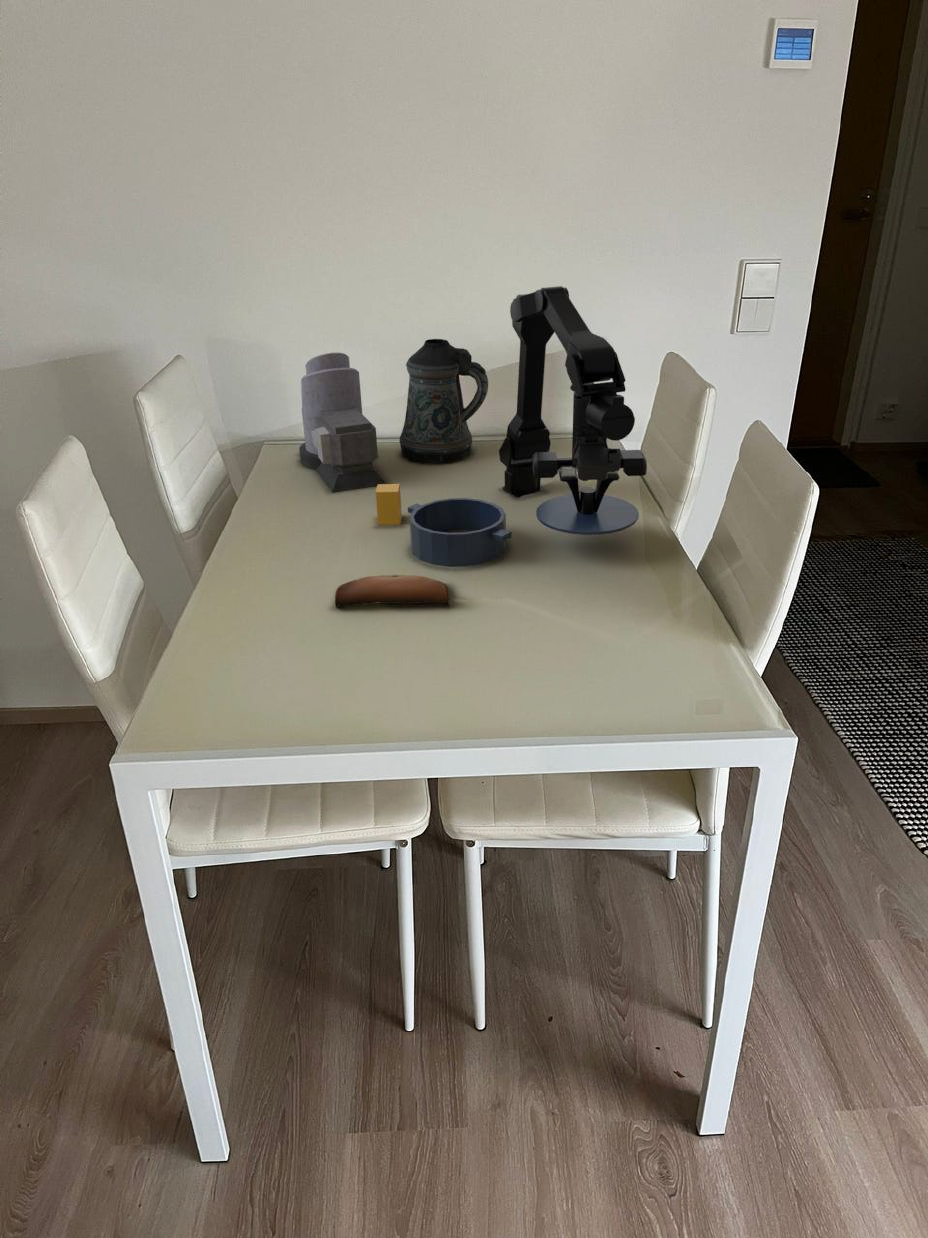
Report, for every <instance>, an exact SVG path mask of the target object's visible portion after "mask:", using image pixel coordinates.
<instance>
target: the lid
mask: <svg viewBox="0 0 928 1238" xmlns="http://www.w3.org/2000/svg"><path fill="white" fill-rule="evenodd" d="M595 494H596V488H593V487H581V488H580V489H579V496H580V512H578V511H577V508H576V504H575V501H574V498H573V494H572V493H571V494H567V495H566V494H565V495H560V496H556V497H553V498H550V499H547V500H546V501H544V502H542V503H541V504H539V505H538V506H537V507H536V510H535V515H536V519H537V521H538V522H539V523H540V524H542V525H543V526H545V527H547V528H549V529H551V530H554V531H556V532H561V533H565V534H570V535H581V536H596V535H607V534H608V535H609V534H614V533H618V532H622V531H625V530H627V529H629V528H631V527H632V526H634V525H635V524H636V523H637V522H638V520H639V517H640V512H639V509H638V508H637V507H636V506H635V505H634V504H633V503H631V502H630V501H627V500H625V499H622V498H619V497H615V496H611V495H605V494H604V496H603V499H602V501H601V504H600V506H599V509H598V511H597V512H595Z"/></svg>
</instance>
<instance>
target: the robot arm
mask: <svg viewBox="0 0 928 1238" xmlns="http://www.w3.org/2000/svg"><path fill="white" fill-rule="evenodd" d="M509 313H510V318H511V325H512V326H511V327H512V328H513V330H514V332H515V334H516V336H517V337H518V339H519V357H518V379H517V395H516V396H517V397H516V413H515V415H514V417H512V419H511V421H510V422H509V423H508V424H507V428H506V437H505V438H504V440H503V442H502V444H501V445H500V447H499V450H498V456H499V462H501V464H502V465H504V466H505V468H506V470H504V485H503V486H502V487H501V488H502V489H501V490H503V491H504V492H506V493H508V494H509V495H511V496H513V497H515V498H517V499H519V498H521V497H524V496H528V495H533V494H536V493H540V492H544V491H545V488H543V487H541V479H554V477H556V476H557V475H558V476H559V480H560V482H563V483H566V484H567V485H568V487H569V489H570V491H571V494H573V498H574V501H575V504H576V508H577V511H578V512H580V496H579V494H580V489H579V487H580V486H579V481H582V482H587V481H596V484H595V490H596V494H595V512H597V511H598V509H599V506H600V504H601V501H602V499H603V496H604V495H605V494H606V492H607V490H608V488H609V486H610V485H611V484H612V483H613V482H615V481H619V480H620V475H619V472H620V470H621V469H622V471H623V473H624V474H625V475H626V476H627V477H644V476H646V475H647V471H648V470H647V467H648V463H647V459H646V457H645V454H644V453H643V451H642V450H640V449H621V448H612V447H611V448H609V446H608V440H610V441H615V442H616V441H621V440H624V439H625V438H626V437H628V436H629V435H630V434H631V432H632V431H633V429H634V428H635V427H634V426H635V423H636V417H635V415H634V412H633V410H632V408H630V407H629V405H626V404H625V397H624V396H623V395H621V394H618V393H625V392H626V384H625V382H626V377H625V374H624V372H623V369H622V365H621V363H620V360H619V356H618V354H617V352H616V351H615V349H614V347H613V346H612V345H611V343H609V342H608V341H607V340H606V339H605V338H604V337H603V336H600V335H597V334H595V333H593V332H592V331H591V330H590V328H589V327H588V325H587V324H586V322H585V321H584V318H583V317H582V316H581V313H579V311H578V309H577V308H576V307H575V305H574V303H573V301H572V300H571V298H570V292H569V290H568V288H567V287H566V286H565V287H564V286H563V285H557V286H556V285H555V286H546V287H541V288H540V289H536V290H535V291H533V292H530V293H523V294H522V293H521V294H517V295H516V297H515V298H513V299H512V302H511V303H510V307H509ZM554 334H555V335H556V337H557V338H558V340H559V342H560V344H561V346H562V347H563V349H564V351H565V353H566V357H565V363H564V366H565V369H566V373H567V376H568V378H569V381H570V383H571V385H570V386H569V389H570V390H571V391H572V392H573V401H572V402H573V405H572V437H571V438H572V442H571V445H572V446H571V457H558V456H557V452H556V451H550V449H551V438H550V435H551V432H550V429H548V428H547V426H546V424H545V422H544V420H543V418H542V412H543V410H542V409H543V397H544V383H545V365H546V354H547V353H546V352H547V344H548V343H549V342H550V340H551V338H552V337H553V335H554Z"/></svg>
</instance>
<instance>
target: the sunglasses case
mask: <svg viewBox="0 0 928 1238" xmlns="http://www.w3.org/2000/svg"><path fill="white" fill-rule="evenodd" d="M448 585H449V584H448V583H445V582H443V581H440V580H438V579H434V578H431V577H427V576H422V575H416V574H400V575H399V574H389V575H388V574H387V575H386V574H385V575H371V576H365V577H359V578H356V579H353V580H350V581H347V582H345V583H342V584H341V585H339V586H338V587H337V588H336V590H335V594H334V595H335V596H334V605H335V608H337V607H348V606H361V605H370V604H371V605H372V604H401V603H409V604H419V603H420V604H421V603H441V604H442V603H443V604H447V605H450V602H451V601H450V598H449V588H448Z"/></svg>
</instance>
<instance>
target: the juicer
mask: <svg viewBox="0 0 928 1238" xmlns="http://www.w3.org/2000/svg"><path fill="white" fill-rule="evenodd" d="M360 381H361V380H360V372H359V371H358V370H357V369H356V368H353V367H351V364H350V356H349V355H347V354H346V353H344V352H327V353H321V354H319V355H316V356H314V357H311V358H310V359H309V360H307V362H306V363H305V375H302V378H301V379H300V388H301V389H300V393H301V417H302V426H303V435H304V436H303V437H304V442H303V443H302V444H300V446H299V448H298V450H299V451H298V452H299V459H300V464H301V465H302V466H303V467H305V468H308V469H310V470H314V471H316V472H317V474H318V476H320V478H321V479H322V481H323V482H324V484H325V485H326V486H327V488H328V489H329V491H330V492H331V493H338V492H344V491H351V490H357V489H363V488H370V487H377V485H378V484H388V483H387V482H386V481H385V480H384V478H383V477H382V476H381V475H380V474H379V473H378V471H376V470H375V468H374V467H373V466H374V465H373V463H374V462H375V460H377V459H378V458H379V453H378V440H377V439H378V438H377V427H376V426H375V425H374V424H373V423H372V422H371V421H370V420H369V419H368V418H367V417H366V416H365V415H364V414H363V404H362V393H361V391H362V390H361V382H360Z"/></svg>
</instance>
